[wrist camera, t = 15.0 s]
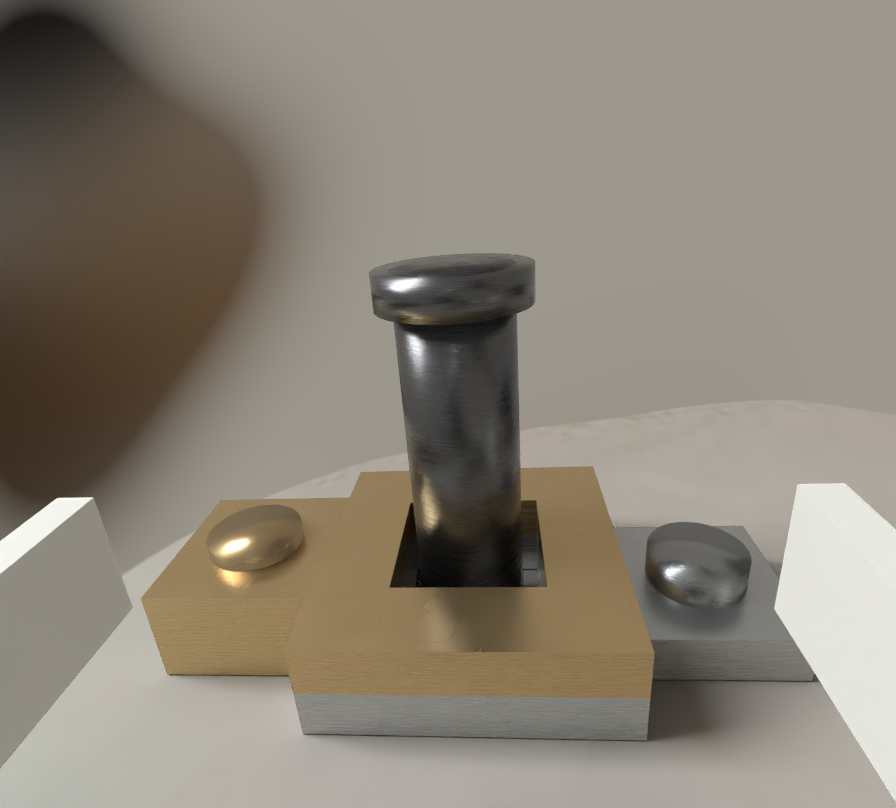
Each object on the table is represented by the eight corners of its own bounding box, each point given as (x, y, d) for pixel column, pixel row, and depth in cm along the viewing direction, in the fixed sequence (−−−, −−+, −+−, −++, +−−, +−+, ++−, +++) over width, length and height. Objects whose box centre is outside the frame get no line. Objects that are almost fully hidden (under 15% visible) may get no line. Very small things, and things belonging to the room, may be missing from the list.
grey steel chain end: (718, 529, 27) (725, 474, 26) (851, 744, 17) (873, 670, 16) (370, 534, 29) (362, 482, 28) (303, 733, 19) (286, 665, 18)
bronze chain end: (590, 531, 28) (593, 454, 26) (646, 740, 18) (656, 637, 16) (256, 535, 29) (239, 464, 28) (131, 730, 19) (93, 634, 18)
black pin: (534, 571, 25) (529, 249, 20) (544, 665, 21) (541, 276, 15) (419, 572, 26) (384, 258, 20) (402, 664, 21) (351, 286, 16)
